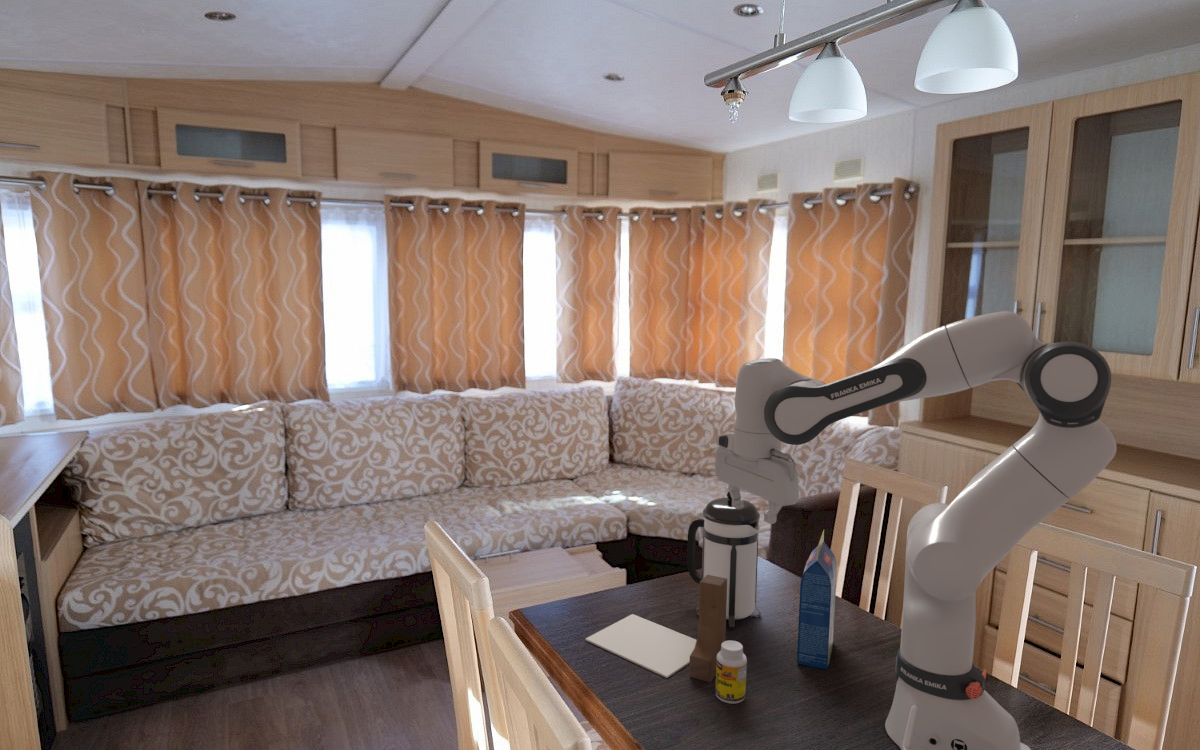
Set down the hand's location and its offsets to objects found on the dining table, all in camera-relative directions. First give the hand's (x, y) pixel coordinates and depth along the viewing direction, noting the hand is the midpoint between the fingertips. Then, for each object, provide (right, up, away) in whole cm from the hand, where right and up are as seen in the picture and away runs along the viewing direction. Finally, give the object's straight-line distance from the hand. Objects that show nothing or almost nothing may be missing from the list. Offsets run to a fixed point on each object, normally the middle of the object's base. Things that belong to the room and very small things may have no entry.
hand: (753, 515), depth 136 cm
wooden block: (-8, -33, +7) cm, 34 cm away
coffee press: (0, -30, +31) cm, 43 cm away
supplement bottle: (-5, -34, -2) cm, 34 cm away
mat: (-19, -31, +17) cm, 40 cm away
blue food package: (+16, -32, +14) cm, 38 cm away
